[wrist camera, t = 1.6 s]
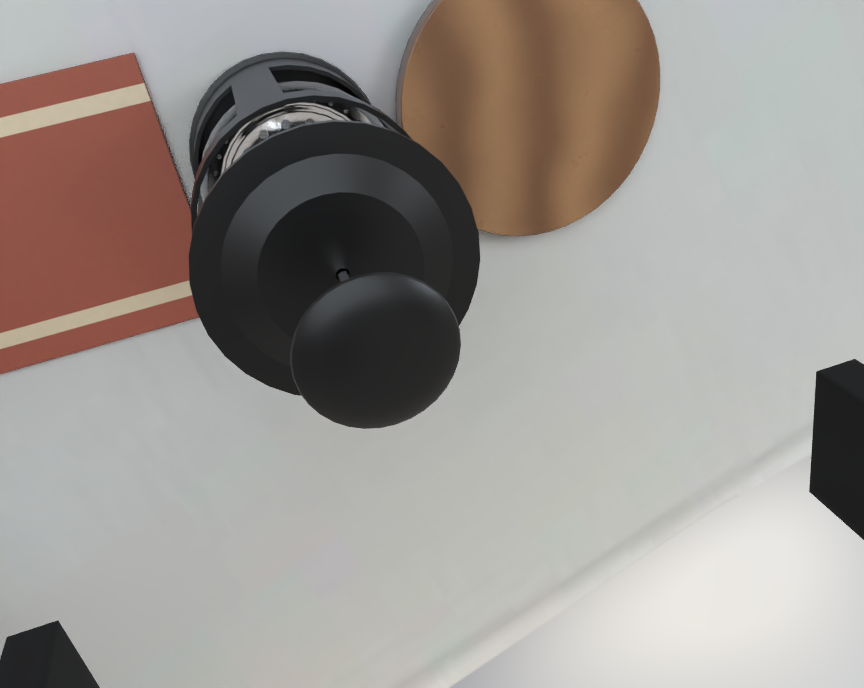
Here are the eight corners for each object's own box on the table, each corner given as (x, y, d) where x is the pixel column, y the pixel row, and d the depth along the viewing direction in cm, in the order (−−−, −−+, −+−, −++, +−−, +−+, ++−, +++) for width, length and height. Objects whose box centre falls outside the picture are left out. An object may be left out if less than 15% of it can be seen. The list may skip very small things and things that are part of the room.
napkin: (-27, 379, 39) (-29, 382, 39) (-172, 124, 33) (-176, 126, 33) (226, 307, 41) (226, 309, 41) (134, 52, 35) (133, 53, 34)
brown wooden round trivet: (425, 259, 43) (431, 266, 42) (366, -15, 36) (371, -14, 35) (656, 192, 45) (666, 198, 44) (641, -79, 38) (653, -81, 37)
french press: (142, 89, 35) (64, 257, 16) (327, 3, 36) (483, 57, 16) (263, 299, 41) (319, 616, 21) (421, 222, 42) (620, 463, 22)
